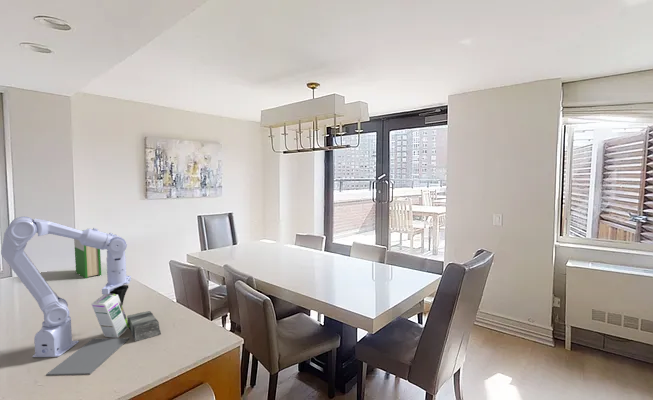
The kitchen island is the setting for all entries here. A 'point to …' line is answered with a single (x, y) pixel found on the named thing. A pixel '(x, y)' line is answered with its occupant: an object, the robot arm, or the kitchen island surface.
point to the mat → (88, 357)
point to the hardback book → (87, 260)
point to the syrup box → (110, 315)
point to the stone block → (143, 325)
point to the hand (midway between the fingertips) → (118, 307)
